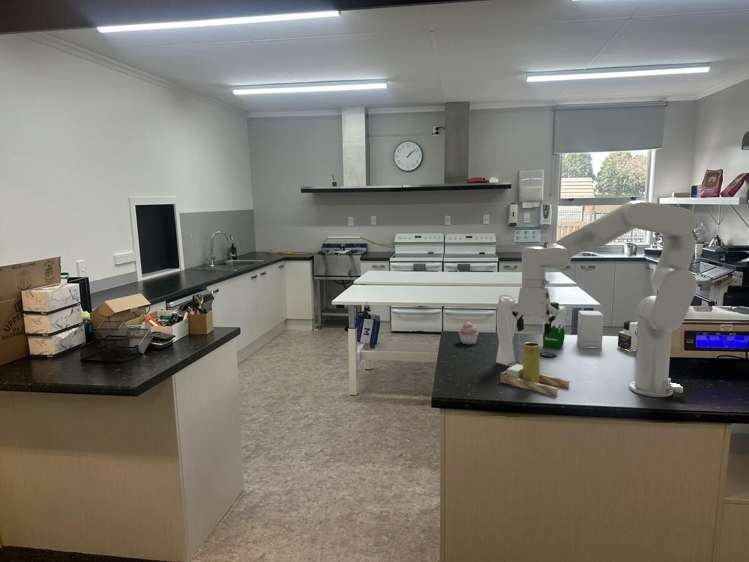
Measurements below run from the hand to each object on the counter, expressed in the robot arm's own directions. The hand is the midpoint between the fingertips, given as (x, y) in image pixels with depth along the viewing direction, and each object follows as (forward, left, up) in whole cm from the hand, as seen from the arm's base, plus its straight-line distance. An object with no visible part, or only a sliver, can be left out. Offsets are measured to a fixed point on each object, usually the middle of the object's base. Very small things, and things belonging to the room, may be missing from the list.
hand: (533, 332), depth 167 cm
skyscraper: (+18, -15, -19) cm, 30 cm away
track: (-1, 0, -18) cm, 18 cm away
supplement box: (+3, -61, -19) cm, 64 cm away
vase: (0, 0, -19) cm, 19 cm away
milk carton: (+14, -49, -19) cm, 54 cm away
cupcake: (+46, -31, -19) cm, 58 cm away
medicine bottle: (-12, -67, -19) cm, 70 cm away
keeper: (+6, 0, -18) cm, 19 cm away
